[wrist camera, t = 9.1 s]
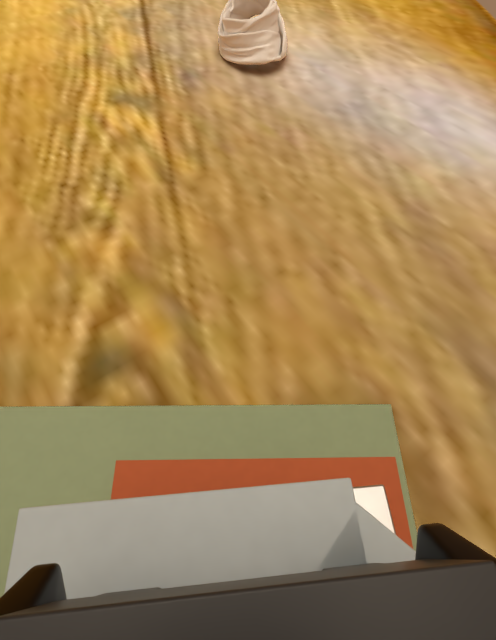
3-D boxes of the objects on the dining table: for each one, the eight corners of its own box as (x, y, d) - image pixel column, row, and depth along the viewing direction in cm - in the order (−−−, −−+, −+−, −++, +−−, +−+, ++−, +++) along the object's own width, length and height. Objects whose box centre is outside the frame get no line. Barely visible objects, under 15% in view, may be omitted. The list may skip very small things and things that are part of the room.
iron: (54, 767, 11) (-526, 1487, 3) (81, 515, 14) (-138, 456, 6) (428, 712, 12) (925, 1097, 4) (375, 487, 15) (569, 400, 7)
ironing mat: (387, 406, 21) (392, 402, 21) (470, 824, 14) (481, 837, 13) (-162, 410, 20) (-174, 406, 19) (-392, 876, 13) (-423, 893, 12)
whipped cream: (293, 82, 38) (307, 26, 33) (222, 80, 36) (228, 21, 32) (276, 32, 41) (287, -25, 37) (210, 28, 40) (214, -32, 35)
